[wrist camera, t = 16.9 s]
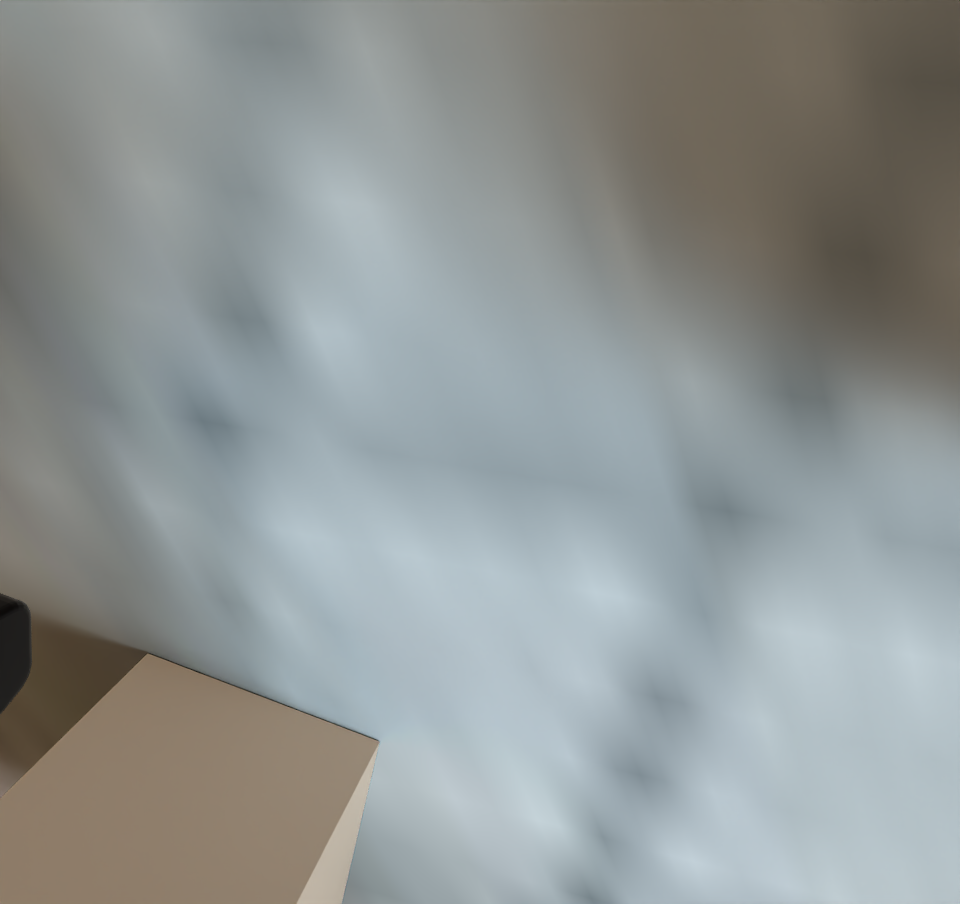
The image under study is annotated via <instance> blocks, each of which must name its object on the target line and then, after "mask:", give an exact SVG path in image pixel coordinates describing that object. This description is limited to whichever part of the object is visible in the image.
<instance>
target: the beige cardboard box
mask: <svg viewBox="0 0 960 904" xmlns="http://www.w3.org/2000/svg"><path fill="white" fill-rule="evenodd" d="M379 743H380V742H379V741H376V740H374V739H371V738H368V737H366V736H363V735H361V734H358V733H355V732H353V731H350V730H347V729H345V728H342V727H340V726H337V725H334V724H332V723H329V722H326V721H324V720H321V719H319V718H316V717H313V716H311V715H308V714H305V713H303V712H300V711H298V710H295V709H292V708H290V707H287V706H284V705H282V704H279V703H277V702H274V701H271V700H269V699H266V698H263V697H261V696H258V695H256V694H253V693H250V692H248V691H245V690H242V689H240V688H237V687H235V686H232V685H229V684H227V683H224V682H221V681H219V680H216V679H214V678H211V677H208V676H206V675H203V674H200V673H198V672H195V671H193V670H190V669H187V668H185V667H182V666H179V665H177V664H174V663H172V662H169V661H166V660H164V659H161V658H158V657H156V656H153V655H151V654H148V653H147V654H146V655H145V656H144V657H143V658H142V659H141V660H140V661H139V662H138V663H137V664H136V665H135V666H134V667H133V668H132V669H131V670H130V671H129V672H128V673H127V674H126V675H125V676H124V677H123V678H122V679H121V680H120V681H119V682H118V683H117V684H116V685H115V686H114V687H113V688H112V689H111V690H110V691H109V692H108V693H107V694H106V695H105V696H104V697H103V698H102V699H101V700H100V701H99V702H98V703H97V704H96V705H95V706H94V707H93V708H92V709H91V710H90V711H89V712H88V713H87V714H86V715H85V716H84V717H83V718H81V719H80V720H79V721H78V722H77V723H76V724H75V725H74V726H73V727H72V728H71V729H70V730H69V731H68V732H67V733H66V734H65V735H64V736H63V737H62V738H61V739H60V740H59V741H58V742H57V743H56V744H55V745H54V746H53V747H52V748H51V749H50V750H49V751H48V752H47V753H46V754H45V755H44V756H43V757H42V758H41V759H40V760H39V761H38V762H37V763H36V764H35V765H34V766H33V767H32V768H31V769H30V770H29V771H28V772H27V773H26V774H25V775H24V776H23V777H22V778H21V779H20V780H19V781H18V782H17V783H15V784H14V785H13V786H12V787H11V788H10V789H9V790H8V791H7V792H6V793H5V794H4V795H3V796H2V797H1V798H0V904H342V900H343V896H344V891H345V887H346V883H347V879H348V874H349V870H350V866H351V862H352V857H353V853H354V849H355V845H356V840H357V836H358V832H359V828H360V823H361V819H362V815H363V811H364V806H365V802H366V798H367V794H368V790H369V785H370V781H371V777H372V773H373V768H374V764H375V760H376V756H377V751H378V747H379Z"/></svg>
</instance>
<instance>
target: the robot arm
mask: <svg viewBox="0 0 960 904" xmlns="http://www.w3.org/2000/svg"><path fill="white" fill-rule="evenodd" d="M31 664H32V648H31V613H30V610H29V608H28V606H27V605H26V604H25V603H24V602H22V601H19V600H17V599H14V598H11V597H9V596H6V595H3V594H1V593H0V714H1V713H2V712H3V711H4V709H5V708H6V707H7V706H8V704H9V703H10V702H11V701H12V700H13V698H14V697H15V696H16V695H17V693H18V692H19V691H20V690H21V688H22V687H23V685H24V683H25V682H26V680H27V678H28V675H29V673H30V669H31Z"/></svg>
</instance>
